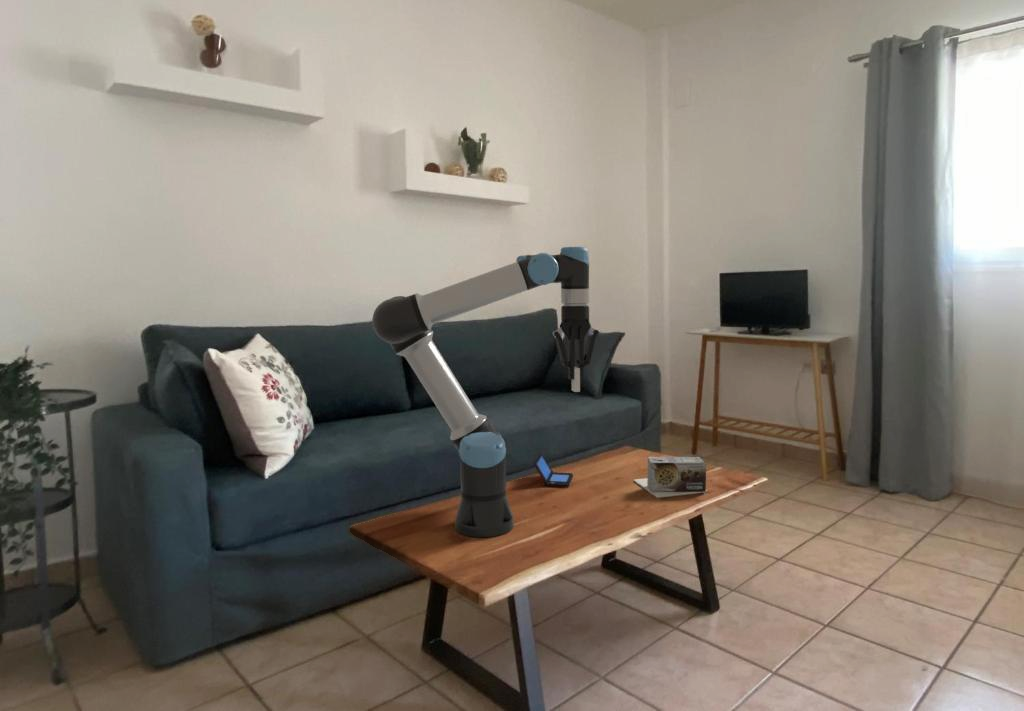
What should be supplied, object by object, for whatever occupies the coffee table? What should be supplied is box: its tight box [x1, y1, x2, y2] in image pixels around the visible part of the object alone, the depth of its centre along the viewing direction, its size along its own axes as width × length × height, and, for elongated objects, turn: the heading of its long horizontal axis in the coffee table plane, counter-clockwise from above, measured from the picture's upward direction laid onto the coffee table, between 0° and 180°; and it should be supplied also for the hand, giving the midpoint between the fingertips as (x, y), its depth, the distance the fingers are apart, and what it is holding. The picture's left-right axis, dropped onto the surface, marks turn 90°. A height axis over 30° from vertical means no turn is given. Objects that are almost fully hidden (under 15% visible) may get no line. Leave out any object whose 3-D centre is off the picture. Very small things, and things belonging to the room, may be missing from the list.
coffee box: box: [647, 456, 707, 493], centre depth 197 cm, size 9×6×16 cm
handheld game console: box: [533, 453, 574, 488], centre depth 209 cm, size 12×11×7 cm
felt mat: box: [633, 477, 708, 499], centre depth 201 cm, size 16×16×1 cm
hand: (575, 390), depth 183 cm, fingers closed
